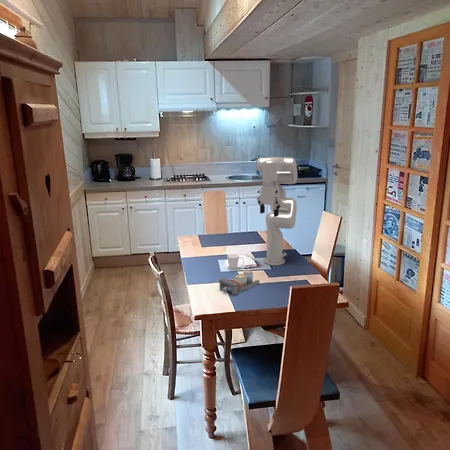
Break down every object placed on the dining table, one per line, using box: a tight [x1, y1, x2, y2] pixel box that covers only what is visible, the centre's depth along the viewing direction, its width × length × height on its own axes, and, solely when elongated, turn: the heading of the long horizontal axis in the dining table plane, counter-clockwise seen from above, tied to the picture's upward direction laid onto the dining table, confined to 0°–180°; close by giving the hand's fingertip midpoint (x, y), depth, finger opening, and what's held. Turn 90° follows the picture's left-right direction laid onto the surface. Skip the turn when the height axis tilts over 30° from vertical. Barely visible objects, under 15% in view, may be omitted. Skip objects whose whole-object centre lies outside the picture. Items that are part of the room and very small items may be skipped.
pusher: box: [221, 277, 241, 291], centre depth 219 cm, size 10×7×4 cm
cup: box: [226, 253, 245, 271], centre depth 249 cm, size 7×10×8 cm
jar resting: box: [234, 273, 247, 287], centre depth 224 cm, size 6×6×6 cm
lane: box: [219, 277, 260, 296], centre depth 224 cm, size 20×11×6 cm, turn 134°
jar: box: [243, 269, 254, 284], centre depth 228 cm, size 5×5×7 cm
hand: (269, 214), depth 227 cm, fingers open, 9 cm apart
